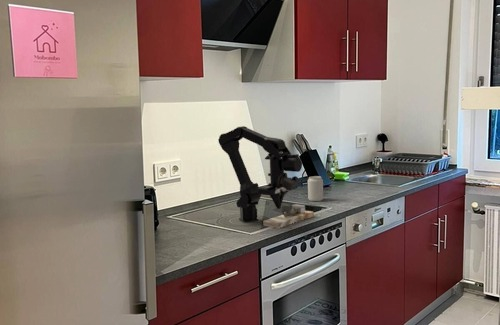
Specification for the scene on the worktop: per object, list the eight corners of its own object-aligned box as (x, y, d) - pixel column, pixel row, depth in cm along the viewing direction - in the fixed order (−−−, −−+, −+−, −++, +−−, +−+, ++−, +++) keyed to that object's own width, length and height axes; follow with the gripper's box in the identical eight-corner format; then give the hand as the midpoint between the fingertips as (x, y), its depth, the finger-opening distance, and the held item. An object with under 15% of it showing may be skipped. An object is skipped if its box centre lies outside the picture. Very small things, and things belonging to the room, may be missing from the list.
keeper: (300, 214, 207) (300, 206, 207) (291, 213, 210) (291, 205, 210) (305, 213, 209) (304, 205, 209) (296, 211, 212) (295, 204, 212)
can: (325, 199, 247) (325, 175, 245) (319, 202, 240) (319, 178, 239) (311, 198, 251) (311, 175, 249) (305, 201, 244) (305, 177, 243)
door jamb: (278, 228, 194) (278, 223, 193) (263, 225, 199) (263, 220, 199) (313, 216, 211) (313, 211, 211) (298, 214, 217) (298, 209, 216)
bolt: (288, 217, 202) (287, 206, 201) (282, 216, 204) (281, 205, 203) (302, 212, 209) (302, 201, 209) (296, 211, 211) (296, 201, 211)
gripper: (278, 174, 185) (280, 215, 187) (307, 168, 199) (308, 206, 201) (256, 173, 193) (257, 212, 194) (285, 167, 206) (286, 203, 208)
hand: (278, 208), depth 199 cm, fingers closed
